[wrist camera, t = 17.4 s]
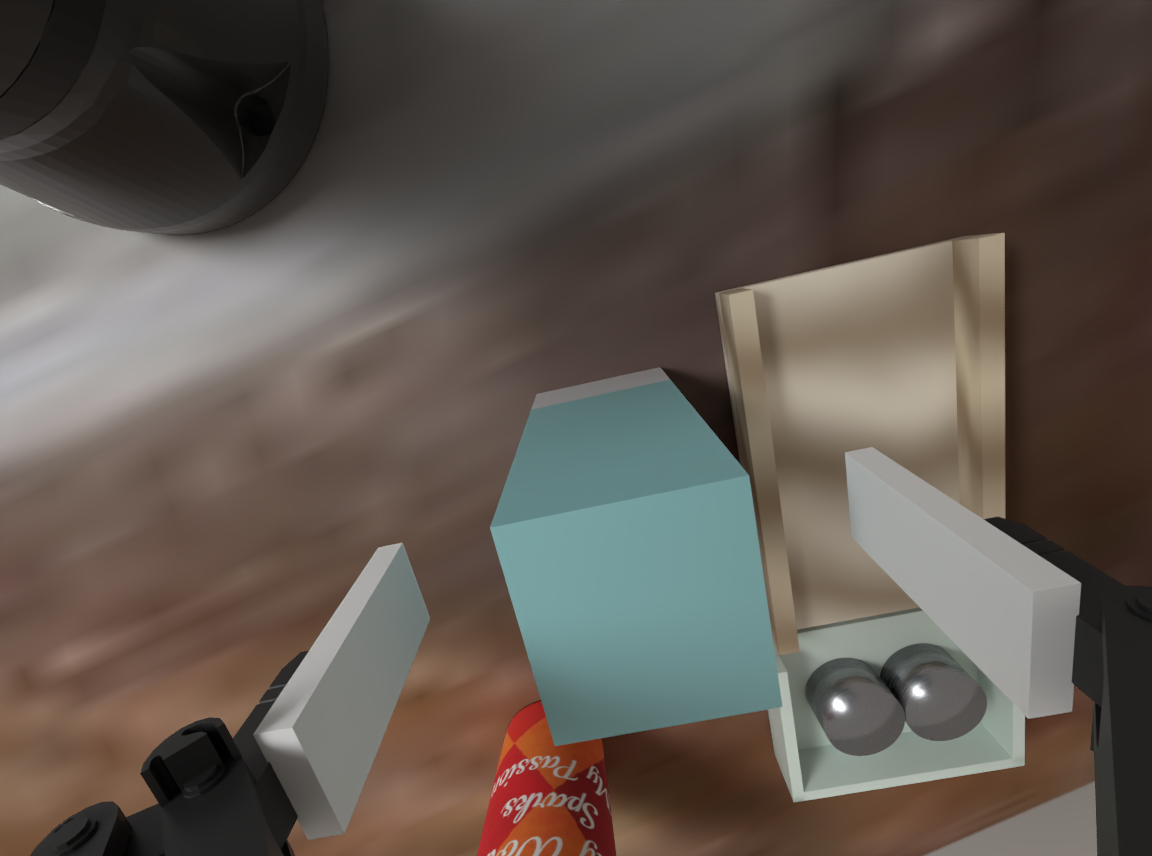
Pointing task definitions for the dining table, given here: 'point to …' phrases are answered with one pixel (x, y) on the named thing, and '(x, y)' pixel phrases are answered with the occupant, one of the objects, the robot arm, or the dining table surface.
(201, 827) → the robot arm
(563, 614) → the teal tall block
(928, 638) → the tray
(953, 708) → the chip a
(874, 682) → the chip
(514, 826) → the paper cup
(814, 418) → the slot board
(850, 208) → the dining table surface
